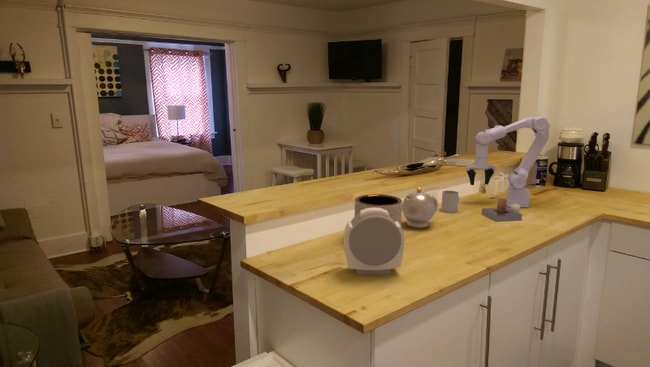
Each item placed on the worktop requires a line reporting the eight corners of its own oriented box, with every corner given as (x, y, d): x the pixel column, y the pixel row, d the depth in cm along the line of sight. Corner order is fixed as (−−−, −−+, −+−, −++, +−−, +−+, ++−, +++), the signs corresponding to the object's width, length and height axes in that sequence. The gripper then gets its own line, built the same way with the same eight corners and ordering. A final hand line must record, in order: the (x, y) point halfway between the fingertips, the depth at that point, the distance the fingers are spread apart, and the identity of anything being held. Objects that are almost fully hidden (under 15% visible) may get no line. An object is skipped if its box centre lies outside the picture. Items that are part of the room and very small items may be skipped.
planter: (363, 250, 156) (364, 207, 153) (347, 234, 173) (348, 195, 170) (409, 245, 161) (411, 203, 158) (389, 230, 178) (390, 192, 174)
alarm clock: (398, 265, 143) (401, 205, 139) (404, 276, 134) (406, 212, 130) (343, 266, 142) (343, 205, 138) (345, 277, 134) (346, 213, 130)
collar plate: (505, 212, 203) (506, 207, 203) (521, 220, 192) (522, 214, 191) (481, 213, 201) (482, 208, 201) (496, 221, 190) (496, 215, 189)
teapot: (414, 233, 174) (416, 192, 171) (393, 224, 186) (394, 186, 182) (448, 226, 183) (450, 187, 180) (425, 218, 195) (427, 181, 191)
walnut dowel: (501, 215, 199) (502, 198, 197) (507, 217, 195) (508, 200, 194) (494, 216, 197) (496, 198, 196) (500, 218, 194) (502, 200, 192)
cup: (438, 210, 207) (439, 192, 205) (451, 207, 213) (452, 188, 211) (451, 213, 201) (452, 194, 199) (464, 210, 207) (465, 191, 205)
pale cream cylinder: (516, 212, 204) (517, 203, 203) (521, 214, 200) (521, 205, 200) (509, 212, 203) (510, 204, 202) (513, 214, 200) (514, 206, 199)
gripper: (490, 155, 218) (488, 182, 221) (463, 156, 215) (461, 183, 218) (498, 157, 211) (496, 185, 214) (470, 158, 208) (468, 186, 211)
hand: (479, 184), depth 216 cm, fingers open, 7 cm apart
